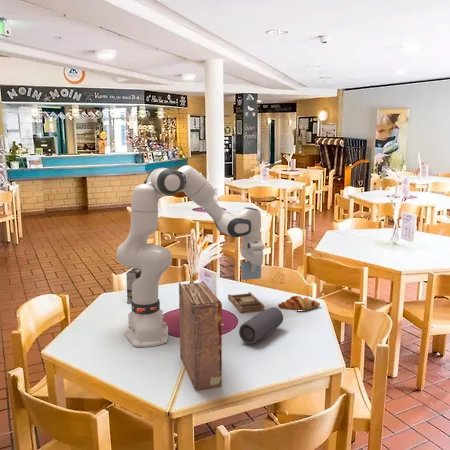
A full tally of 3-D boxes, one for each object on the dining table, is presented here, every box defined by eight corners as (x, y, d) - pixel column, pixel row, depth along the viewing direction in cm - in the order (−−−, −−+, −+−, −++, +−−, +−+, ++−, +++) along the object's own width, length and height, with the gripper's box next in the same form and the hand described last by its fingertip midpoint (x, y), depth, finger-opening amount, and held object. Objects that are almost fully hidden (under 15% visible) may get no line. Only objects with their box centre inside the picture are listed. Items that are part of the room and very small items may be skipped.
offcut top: (255, 303, 228) (255, 299, 228) (243, 304, 226) (243, 301, 226) (251, 300, 232) (251, 296, 232) (240, 301, 230) (240, 298, 230)
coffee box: (139, 304, 235) (137, 273, 232) (127, 303, 236) (125, 272, 233) (145, 298, 243) (144, 268, 240) (134, 297, 245) (132, 267, 242)
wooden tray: (264, 312, 224) (264, 305, 223) (240, 315, 220) (240, 308, 220) (250, 298, 243) (250, 292, 242) (228, 300, 239) (228, 294, 239)
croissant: (317, 312, 234) (315, 296, 236) (324, 309, 224) (322, 293, 227) (276, 314, 230) (274, 297, 232) (282, 311, 221) (280, 294, 223)
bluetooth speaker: (265, 325, 209) (266, 303, 207) (284, 330, 204) (284, 308, 202) (237, 343, 191) (237, 320, 189) (256, 349, 186) (257, 325, 184)
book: (180, 357, 179) (178, 282, 173) (203, 353, 182) (202, 279, 176) (195, 391, 155) (194, 305, 150) (221, 386, 158) (221, 302, 152)
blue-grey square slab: (260, 278, 221) (261, 262, 220) (242, 280, 219) (243, 263, 217) (259, 276, 224) (259, 260, 222) (241, 278, 221) (241, 262, 220)
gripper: (238, 237, 227) (237, 265, 229) (252, 247, 208) (252, 277, 210) (250, 236, 229) (249, 264, 231) (265, 246, 209) (265, 275, 212)
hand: (251, 270), depth 221 cm, fingers closed on blue-grey square slab, 2 cm apart
